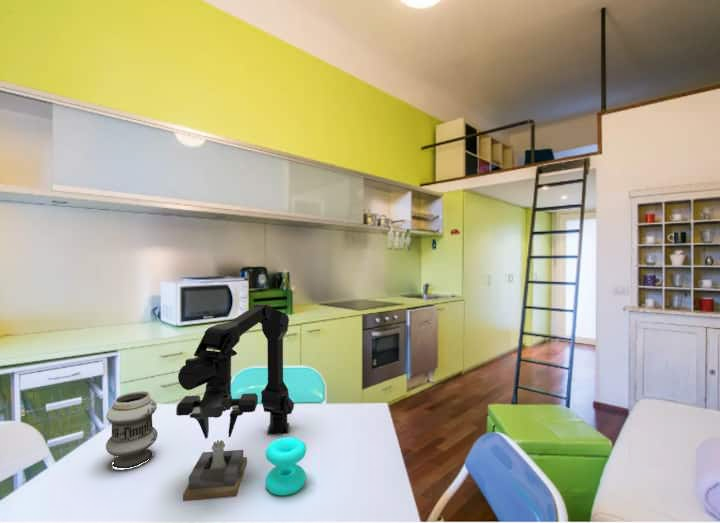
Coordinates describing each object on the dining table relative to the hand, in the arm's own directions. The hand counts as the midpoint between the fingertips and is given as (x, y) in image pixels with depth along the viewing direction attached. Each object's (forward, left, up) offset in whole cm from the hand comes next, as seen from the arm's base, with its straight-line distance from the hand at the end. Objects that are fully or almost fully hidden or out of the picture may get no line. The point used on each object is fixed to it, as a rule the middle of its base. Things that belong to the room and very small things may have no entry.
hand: (218, 437), depth 88 cm
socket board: (0, 0, -11) cm, 11 cm away
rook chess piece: (0, 0, -10) cm, 10 cm away
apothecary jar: (-12, -26, -11) cm, 31 cm away
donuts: (+4, +17, -11) cm, 21 cm away
